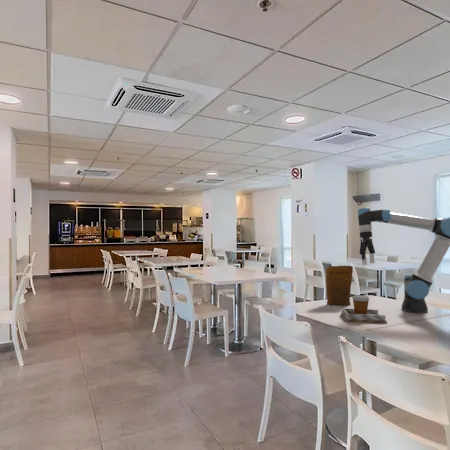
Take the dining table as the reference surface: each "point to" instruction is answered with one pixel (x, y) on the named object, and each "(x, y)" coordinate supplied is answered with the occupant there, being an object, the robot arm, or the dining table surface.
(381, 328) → the dining table surface
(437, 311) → the dining table surface
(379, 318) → the rail board
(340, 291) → the pancake mix bag
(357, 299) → the disposable coffee cup
